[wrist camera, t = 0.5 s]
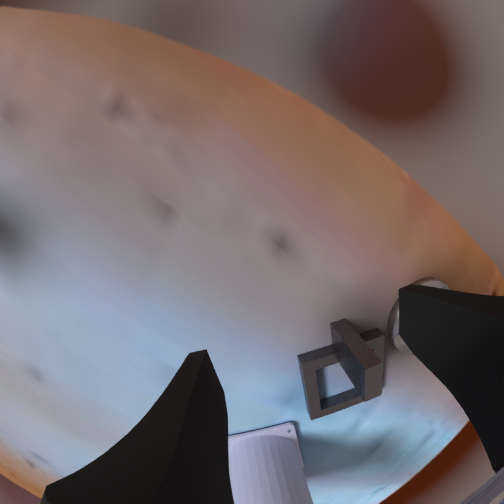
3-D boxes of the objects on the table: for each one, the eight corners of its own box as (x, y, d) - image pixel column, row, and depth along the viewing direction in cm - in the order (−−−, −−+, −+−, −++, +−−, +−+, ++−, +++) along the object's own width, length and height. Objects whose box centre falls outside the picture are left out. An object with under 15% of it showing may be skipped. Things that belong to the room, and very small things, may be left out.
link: (376, 386, 23) (405, 426, 17) (307, 411, 22) (327, 460, 17) (377, 306, 20) (420, 344, 15) (293, 334, 20) (318, 386, 14)
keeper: (442, 332, 22) (478, 360, 17) (386, 359, 22) (420, 397, 17) (447, 267, 21) (493, 289, 15) (387, 292, 20) (431, 324, 15)
